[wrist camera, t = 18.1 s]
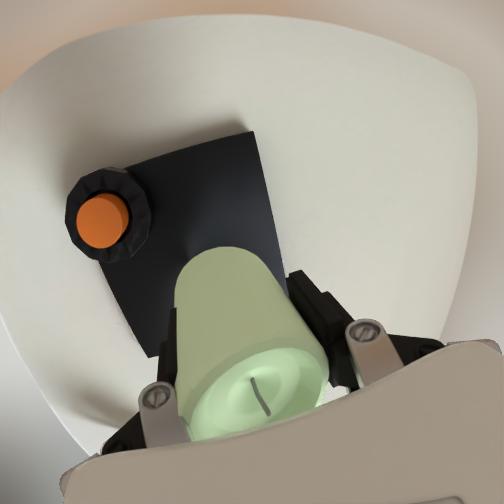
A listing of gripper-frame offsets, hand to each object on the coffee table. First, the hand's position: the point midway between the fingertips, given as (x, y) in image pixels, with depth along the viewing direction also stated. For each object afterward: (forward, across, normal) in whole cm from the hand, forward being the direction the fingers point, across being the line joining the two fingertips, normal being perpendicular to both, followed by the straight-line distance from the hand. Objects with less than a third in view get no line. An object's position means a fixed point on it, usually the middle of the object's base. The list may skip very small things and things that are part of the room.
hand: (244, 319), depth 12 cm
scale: (+10, +2, 0) cm, 10 cm away
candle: (+3, +1, 0) cm, 3 cm away
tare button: (+7, +7, -5) cm, 11 cm away
